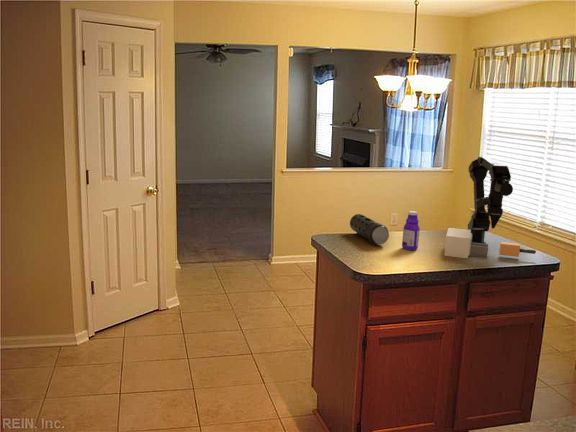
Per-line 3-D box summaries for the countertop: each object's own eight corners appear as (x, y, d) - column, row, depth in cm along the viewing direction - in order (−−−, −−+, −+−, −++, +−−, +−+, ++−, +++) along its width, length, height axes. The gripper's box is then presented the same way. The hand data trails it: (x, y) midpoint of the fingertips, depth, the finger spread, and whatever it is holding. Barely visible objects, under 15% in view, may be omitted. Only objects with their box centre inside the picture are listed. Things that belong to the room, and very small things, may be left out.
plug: (499, 254, 259) (500, 243, 258) (499, 252, 262) (500, 241, 261) (535, 258, 254) (537, 247, 253) (534, 256, 258) (536, 245, 257)
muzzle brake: (366, 233, 297) (367, 213, 295) (389, 247, 271) (391, 225, 269) (348, 233, 295) (349, 213, 292) (370, 247, 268) (372, 225, 266)
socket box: (444, 255, 259) (446, 235, 257) (446, 246, 276) (448, 227, 274) (487, 260, 254) (489, 240, 252) (486, 250, 271) (489, 231, 269)
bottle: (420, 249, 268) (423, 212, 265) (413, 251, 264) (416, 213, 261) (406, 246, 273) (409, 209, 269) (399, 248, 269) (402, 211, 265)
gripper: (477, 188, 275) (474, 220, 278) (477, 193, 257) (473, 228, 260) (503, 190, 272) (499, 223, 275) (504, 195, 254) (500, 231, 257)
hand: (492, 226), depth 267 cm, fingers open, 9 cm apart
